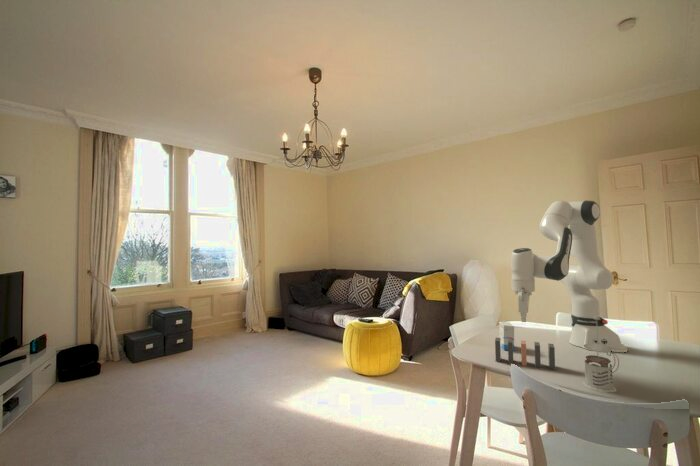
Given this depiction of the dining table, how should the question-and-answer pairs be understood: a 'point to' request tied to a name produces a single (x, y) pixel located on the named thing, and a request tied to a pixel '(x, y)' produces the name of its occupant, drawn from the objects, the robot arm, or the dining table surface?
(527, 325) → the dining table surface
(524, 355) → the domino
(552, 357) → the domino
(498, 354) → the domino
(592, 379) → the french press
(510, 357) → the domino
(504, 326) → the ink box
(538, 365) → the domino
